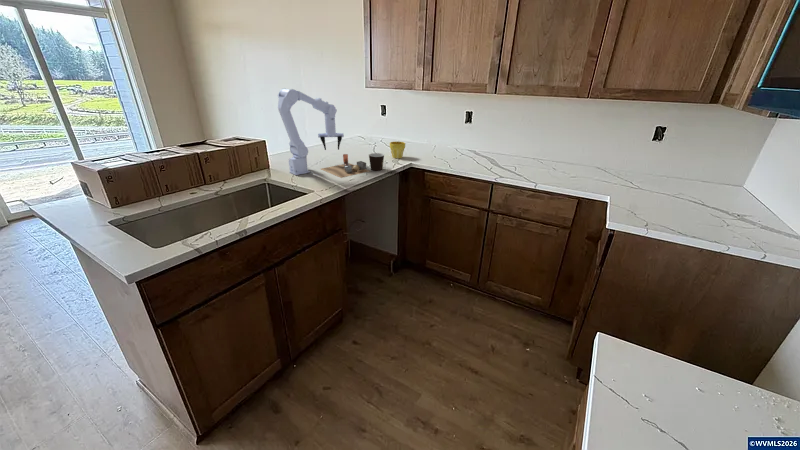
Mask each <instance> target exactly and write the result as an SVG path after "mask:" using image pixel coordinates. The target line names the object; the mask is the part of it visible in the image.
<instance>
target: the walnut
mask: <svg viewBox="0 0 800 450" xmlns="http://www.w3.org/2000/svg"><path fill="white" fill-rule="evenodd" d="M353 165H354V166H353V170H354V171H357V170H359V169H360V168H359V166H358V165H357V164H353Z"/></svg>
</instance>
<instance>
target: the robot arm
mask: <svg viewBox="0 0 800 450" xmlns="http://www.w3.org/2000/svg"><path fill="white" fill-rule="evenodd" d="M277 99H278V103H277V109H278V112H279V115H280V117H281V120H282V122H283V126H284V128H285V131H286V133H287V135H288V137H289V139H288V140H289V143H288V144H289V151H290V153H291V154H292V157H290V158H289V159H288V167H289V173H290V174H291V175H292V174H293V176H294V175H295V176H298V175H303V174H309V173H312V172H311V170H309V167H308V159H307V156H308V154H309V149H308V147H307V146H306V145H305V142H304V141H303V140H302V139H301V137H300V134H299V132H298V129H297V127H296V123H295V121H294V117H293V115H292V112H291V110H292V107H293V106H294V105H295V104H296V103H297V102H298V101H301V102H304V103H307V104H309V105H312V108H313V109H315V110H317V111H319V112H321V113H322V114H324V122H325V123H324V126H325V132H324V133H318V134H317V136H318V138H320V142H321V143H322V145H323V148H324V150H325V151H326V150H327V147H326V139H325V138H337V150H340V146H341V142H342V140H343V138H344V132H342V133H341V132H336V131H337V129H336V113H337V109H336V106H335V105H334V104H330V103H329V102H328V101H324V100H323V99H322V98H321V97H316V98H313V97H311V96H309V95H307V94H305V93H303V92H301V91H300V90H297V89H293V88H289V89H288V88H285V87H284V88H281V89H280V90H279V92H278V93H277Z"/></svg>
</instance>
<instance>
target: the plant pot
mask: <svg viewBox="0 0 800 450" xmlns="http://www.w3.org/2000/svg"><path fill="white" fill-rule="evenodd" d="M389 148H390V152H391V157H392V158H393V159H402V158H403V155H404V151H405V148H406V142H403V141H390V142H389Z"/></svg>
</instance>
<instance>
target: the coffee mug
mask: <svg viewBox="0 0 800 450" xmlns="http://www.w3.org/2000/svg"><path fill="white" fill-rule="evenodd" d="M384 157H385V154H384V153H380V152H373V153H372V152H371V153H369V154H368V158H369V166H370V171H371V172H372V171H373V172H382V171H383V170H384V169H383V168H384V167H383V166H384Z"/></svg>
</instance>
